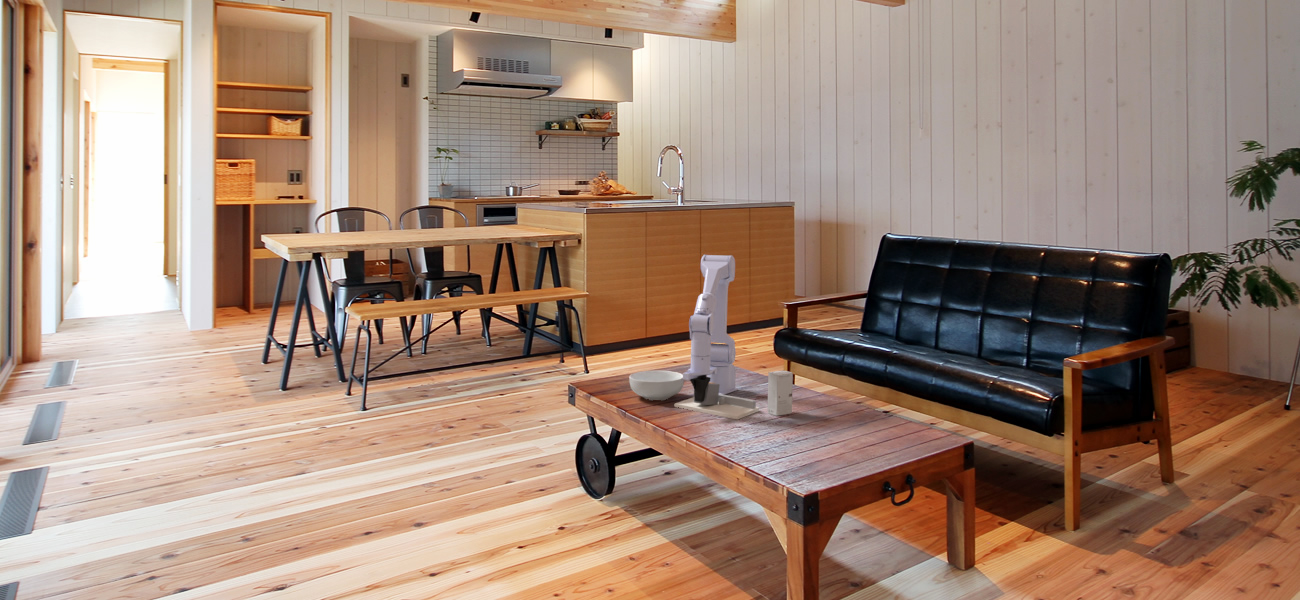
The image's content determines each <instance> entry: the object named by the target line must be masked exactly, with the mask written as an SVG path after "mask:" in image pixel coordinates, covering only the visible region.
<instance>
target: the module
mask: <svg viewBox="0 0 1300 600" xmlns="http://www.w3.org/2000/svg"><path fill="white" fill-rule="evenodd" d="M719 387H720V384H716V383H710V382H709V383H708V385H707V387H706V390H705V398H704V401H703V402H697V401H695V396H694V395H693V397H694V402H695V403H700V404H705V405H713V404H718V395H719Z"/></svg>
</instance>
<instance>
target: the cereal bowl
mask: <svg viewBox="0 0 1300 600" xmlns="http://www.w3.org/2000/svg"><path fill="white" fill-rule="evenodd" d="M628 379H629V380H628V381H629V385H630V389H631V390H632V391H633V392H634V393H635V394H636V395H637V396H641V397H642V398H643V399H645V400H647V399H649V400H648V401H653V400H661V401H665V400H666V399H667V400H669V399H670V398H671V397H673V396H676V395H677V394H679V393H680V392H681V391H682V390H683V388H684V385H685V384H684V383H685V380H683V373H680V372H677V371H670V370H642V371H639V372H638V371H637V372H634V373H631V374H630V375H629V378H628ZM668 398H669V399H668Z"/></svg>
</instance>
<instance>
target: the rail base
mask: <svg viewBox="0 0 1300 600" xmlns="http://www.w3.org/2000/svg"><path fill="white" fill-rule="evenodd" d="M756 402H757V400H755V399H749V398H743V397H738V396H732V395H727V394H725V395H723V394H719V395H718V404H713V405H705V404H700V403H695V402H694V396H693V397H690V398H688V399H687V398H686V399H684V400H681V401H679V402H676V403H674V407H675V408H678V407H679V408H678V409H683V408H684V410H687V409H688V410H689V411H692V410H693V412H698V413H702V414H703V413H704V414H709V415H711V416H712V415H713V416H717V417H723V418H727V419H733V420H739V419H742V418H744V417H746V416H749V415H752V414H754V413H757V412H759V411H760V407H759V406H756V405H757V403H756Z"/></svg>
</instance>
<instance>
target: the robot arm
mask: <svg viewBox="0 0 1300 600" xmlns="http://www.w3.org/2000/svg"><path fill="white" fill-rule="evenodd" d="M700 271H701V274H702V277H703V278H704V282H703V289H702V290H703V291H702V293H700V294H699V295H698V297H697V299H696V304H695V308H694V312H693V315H690V318H689V322H688V328H689V329H688V330H689V340H690V367H689V368H688V369H687V371H684V372H682V375H683V380H684V381H690V383H691V385H692V387H693V397H694V396H695V401H697V402H703V401H704V398H705V390H706V387H707V385H708V383H709V382H710V383H716V384H720V387H719V394H723V395H727V394H730V393H733V392H736V391H738V390H739V389H738V388H737V387H736V381H737V380H736V375H737V373H736V370H737V369H736V367H735V365H734V364H733V363H735V361H736V355H737V354H736V342H735V340H734V338H733V337H732V336H730V335H729V334H728V333H727V325H728V324H727V323H728V297H729V294H728V293H729V285H730V283H731V282H734V280H735V276H736V259H735V257H734V256H733V254H732V255H721V254H720V255H718V254H717V255H716V254H713V255H712V254H703V256H701V259H700Z"/></svg>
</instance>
